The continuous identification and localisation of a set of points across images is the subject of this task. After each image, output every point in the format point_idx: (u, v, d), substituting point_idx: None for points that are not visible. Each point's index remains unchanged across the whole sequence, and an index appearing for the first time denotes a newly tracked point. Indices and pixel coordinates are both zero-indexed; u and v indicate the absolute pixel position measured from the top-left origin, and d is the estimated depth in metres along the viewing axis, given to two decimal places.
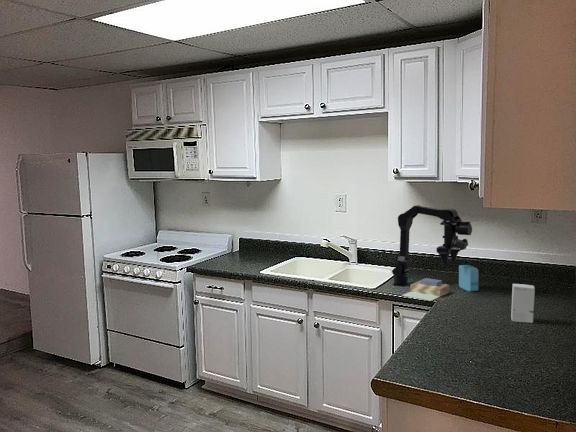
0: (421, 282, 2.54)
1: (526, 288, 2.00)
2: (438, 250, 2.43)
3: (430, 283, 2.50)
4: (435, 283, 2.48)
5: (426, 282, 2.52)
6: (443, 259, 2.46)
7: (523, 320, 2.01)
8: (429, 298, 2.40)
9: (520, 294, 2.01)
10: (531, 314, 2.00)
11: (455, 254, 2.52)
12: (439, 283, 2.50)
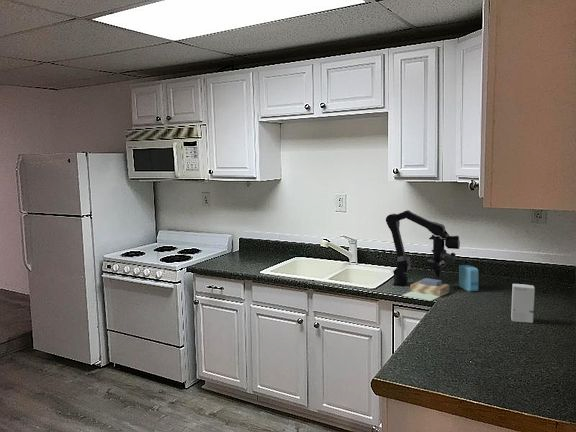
0: (421, 282, 2.54)
1: (526, 288, 2.00)
2: (427, 264, 2.53)
3: (430, 283, 2.50)
4: (435, 283, 2.48)
5: (426, 282, 2.52)
6: (436, 271, 2.59)
7: (523, 320, 2.01)
8: (429, 298, 2.40)
9: (520, 294, 2.01)
10: (531, 314, 2.00)
11: None
12: (439, 283, 2.50)
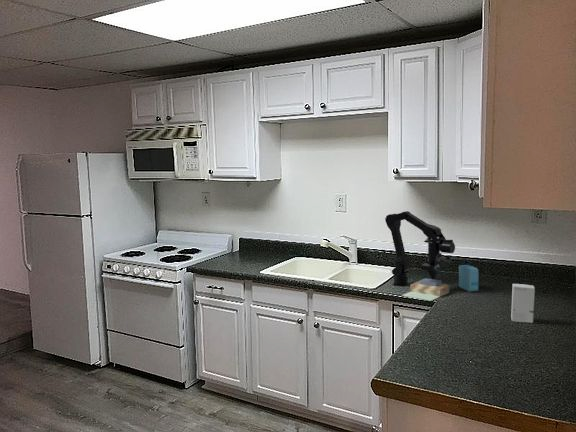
0: (421, 282, 2.53)
1: (526, 288, 2.00)
2: (422, 268, 2.49)
3: (430, 283, 2.50)
4: (435, 283, 2.48)
5: (426, 282, 2.51)
6: (431, 275, 2.55)
7: (523, 320, 2.01)
8: (429, 298, 2.40)
9: (520, 294, 2.01)
10: (531, 314, 2.00)
11: None
12: (439, 283, 2.50)
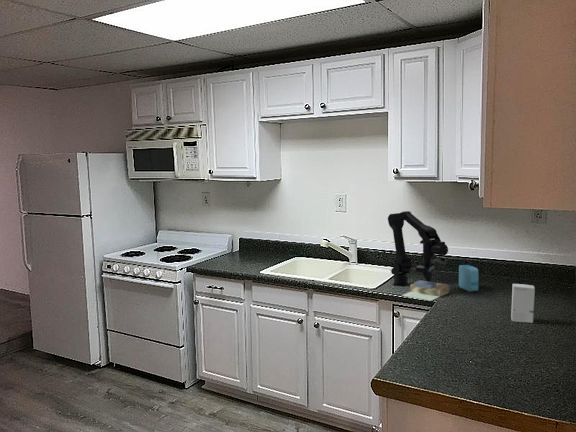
0: (415, 284, 2.49)
1: (526, 288, 2.00)
2: (417, 269, 2.45)
3: (424, 285, 2.46)
4: (429, 285, 2.44)
5: (420, 284, 2.47)
6: (426, 276, 2.51)
7: (523, 320, 2.01)
8: (429, 298, 2.40)
9: (520, 294, 2.01)
10: (531, 314, 2.00)
11: None
12: (433, 285, 2.46)
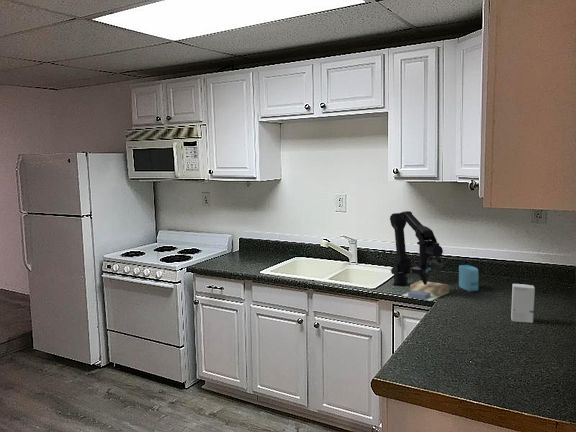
0: None
1: (526, 288, 2.00)
2: (413, 271, 2.42)
3: None
4: None
5: None
6: (422, 278, 2.48)
7: (523, 320, 2.01)
8: (429, 298, 2.40)
9: (520, 294, 2.01)
10: (531, 314, 2.00)
11: None
12: (427, 296, 2.40)
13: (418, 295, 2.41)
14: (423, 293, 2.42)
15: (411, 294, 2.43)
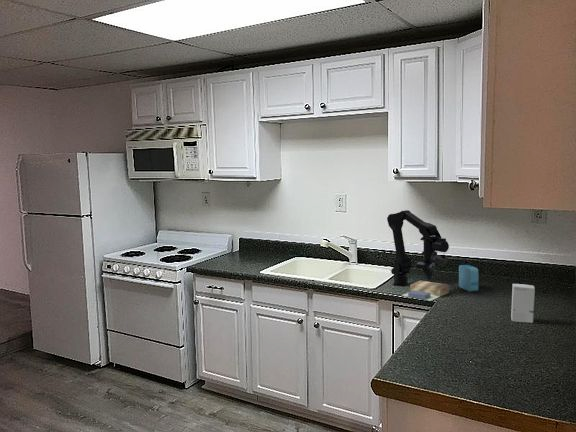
0: None
1: (526, 288, 2.00)
2: (417, 266, 2.45)
3: None
4: None
5: None
6: (426, 273, 2.51)
7: (523, 320, 2.01)
8: (429, 298, 2.40)
9: (520, 294, 2.01)
10: (531, 314, 2.00)
11: None
12: (427, 296, 2.40)
13: (418, 295, 2.41)
14: (423, 293, 2.42)
15: (411, 294, 2.43)
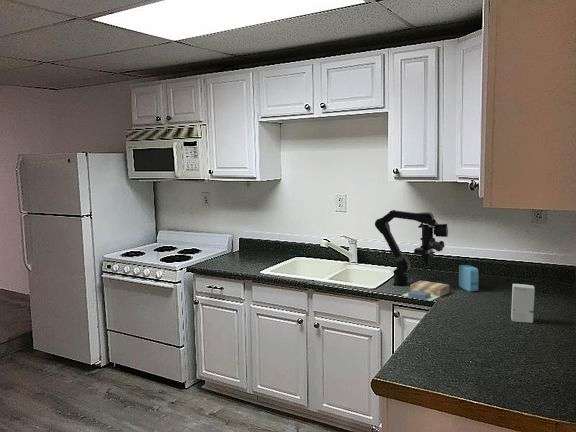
0: None
1: (526, 288, 2.00)
2: (415, 251, 2.56)
3: None
4: None
5: None
6: (424, 259, 2.62)
7: (523, 320, 2.01)
8: (429, 298, 2.40)
9: (520, 294, 2.01)
10: (531, 314, 2.00)
11: None
12: (427, 296, 2.40)
13: (418, 295, 2.41)
14: (423, 293, 2.42)
15: (411, 294, 2.43)
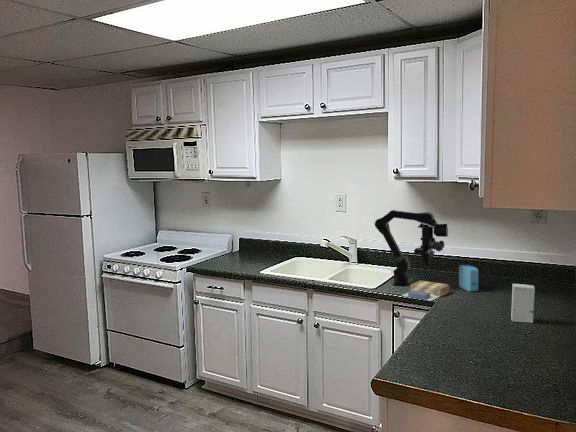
0: None
1: (526, 288, 2.00)
2: (416, 251, 2.56)
3: None
4: None
5: None
6: (424, 259, 2.62)
7: (523, 320, 2.01)
8: (429, 298, 2.40)
9: (520, 294, 2.01)
10: (531, 314, 2.00)
11: None
12: (427, 296, 2.40)
13: (418, 295, 2.41)
14: (423, 293, 2.42)
15: (411, 294, 2.43)
